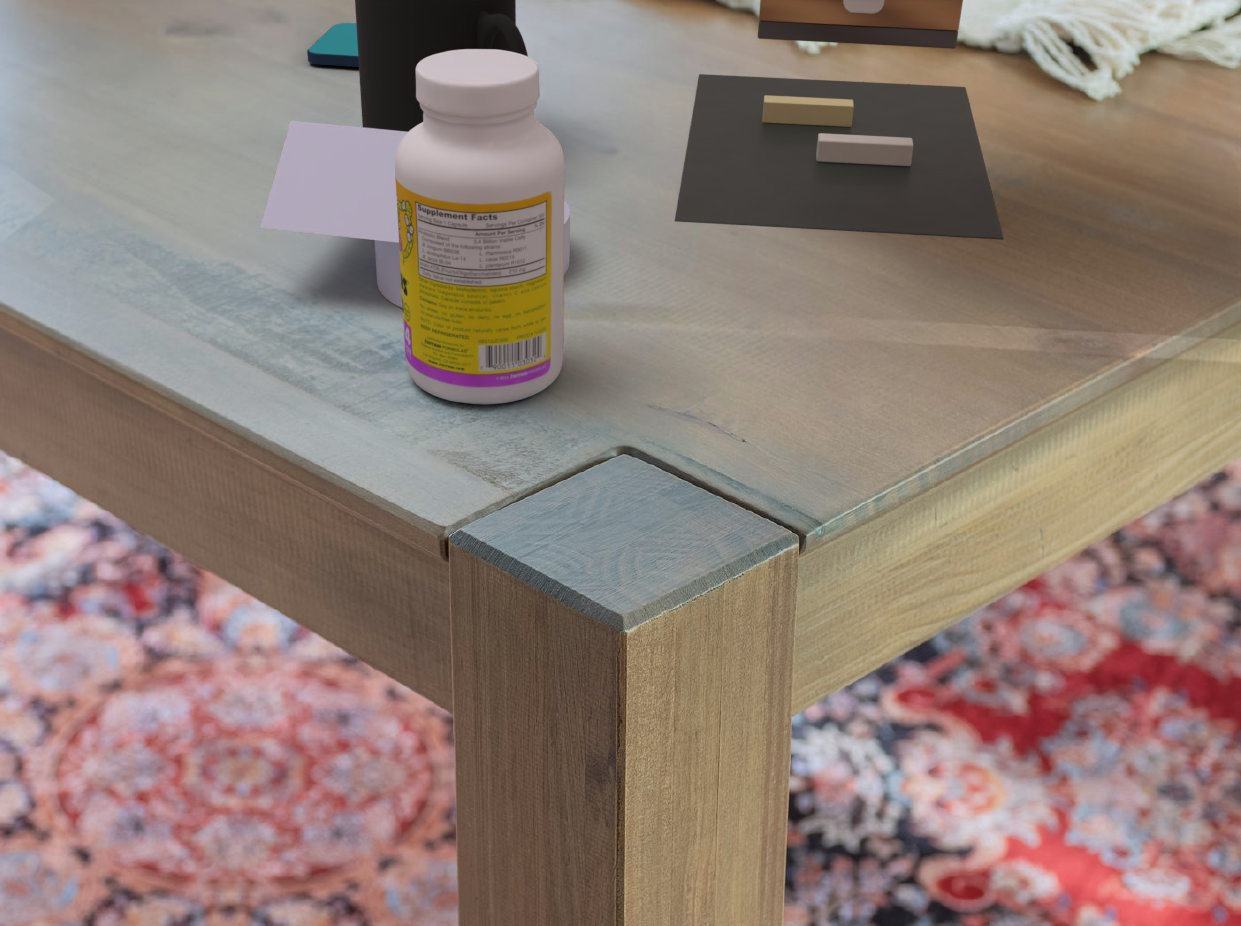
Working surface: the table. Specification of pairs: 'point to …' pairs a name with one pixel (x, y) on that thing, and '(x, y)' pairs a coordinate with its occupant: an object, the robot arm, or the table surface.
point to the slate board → (835, 192)
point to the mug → (420, 48)
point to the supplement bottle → (481, 231)
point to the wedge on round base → (347, 192)
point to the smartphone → (336, 47)
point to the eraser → (863, 22)
